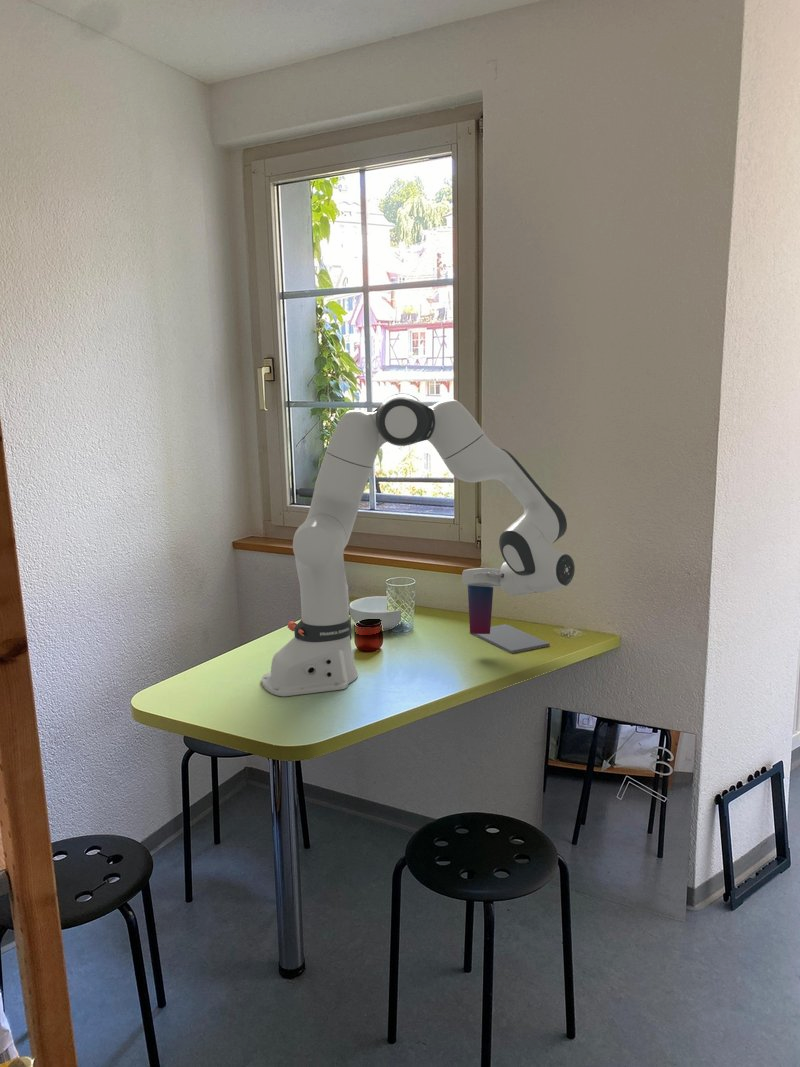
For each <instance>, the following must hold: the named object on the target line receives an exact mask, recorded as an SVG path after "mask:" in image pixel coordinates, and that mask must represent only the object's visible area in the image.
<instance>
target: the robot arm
mask: <svg viewBox="0 0 800 1067" xmlns="http://www.w3.org/2000/svg"><path fill="white" fill-rule="evenodd" d="M423 441H428V442H429V443H430V444H431V445H432V446H433V447H434V449H435V450H436V452H437V453H438V455H439V456H440V458H441V460H442V461H443V463H444V464H445V466H446V468H447V470H448V471H450V473H451V474H452V475H453V477H455V478H456V479H457V480H460V481H462V482H465V483H480V482H485V481H489V480H496V481H500V482H501V483H503V484H504V485H505V486H506V487H507V488H508V490H509V491H510V492H511V493H512V495H513V496H514V497H515V498H516V499H517V500H518V501H519V503H520V504H521V505H522V506H523V514H521V515H520V516H519V517H518V518H517V519H516V520H515V521H513V523H511V524H510V525H509V526H508V527H507V528H506V529H505V530H503V532H502V533H500V535H499V540H498V541H499V542H498V545H499V546H498V547H499V550H500V553H501V556H502V558H503V560H504V562H503V563H502V564H501V566H500V569H499V568H492V567H490V568H489V567H478V568H468V569H463V571H462V572H461V573H462V575H461V580H462V581H461V582H462V585H463V586H468V585H471V586H483V587H493V588H497V589H502V590H503V591H504V592H505V593H506V594H508V595H510V596H523V595H531V594H533V593H534V594H535V593H549V592H553V591H558V590H562V589H563V588H566V587H567V586H568V585H570V583H571V582H572V581H573V578H574V577H575V570H576V567H575V563H574V562H575V561H574V559H573V557H572V556H571V555H569V554H568V553H566V552H561V551H559V550H557V549H556V548H554V547H553V546H552V544H554V543H556V542H557V541H558V540H559V539H561V538H562V537H563V536H564V535H565V533H566V532H567V528H568V526H567V525H568V523H567V517H566V514H565V513H564V510H563V509H562V508H561V507H560V506H559V505H558V504H557V503H556V502H555V501H553V499H552V498H550V497H549V496H548V495H547V494H546V493H545V492H544V490H543V489H542V488H541V486H539V485H538V483H537V482H536V481H535V480H534V478H533V477H532V475H530V474H529V472H528V471H527V470H526V469H525V468H524V466H523V465H522V464H521V463H520V462H519V461H518V459H517V458H516V457H515V456H514V455H512V453H511V452H510V451H508V450H507V449H505V448H503V447H501V448H500V447H498V446H496V445H495V444H494V443H493V442H492V441H491V440H490V439H489V438H488V436H487V435H486V433H485V432H484V430H483V429H482V427H481V426H480V424H479V423H478V422H477V420H476V419H475V418H474V416H473V415H472V413H470V412H469V411H468V410H467V408H466V407H465V406H464V405H463V404H462V403H461V402H460V401H458V400H456V399H453V398H452V399H451V398H450V399H449V398H448V399H444V400H440V401H438V402H436V403H435V404H433V405H431V406H430V405H428V406H427V405H426V404H423V403H422V402H421V400H419V399H418V398H417V397H416V396H414V395H412V394H409V393H404V392H403V393H402V392H401V393H395V394H393V395H391V396H389V397H387V398H386V399H385V400H384V401H383V402H382V403H381V405H379V406H378V407H376V409H375V410H373V411H372V412H367V411H365V410H359V409H352V410H347V411H346V412H344V414H342V416H341V418H340V419H339V421H338V422H337V424H336V426H335V428H334V429H333V432H332V434H331V437H330V440H329V441H328V444H327V448H326V449H325V450H326V451H325V453H324V456H323V458H322V462H321V466H320V467H319V471H318V474H317V477H316V480H315V483H314V489H313V493H312V498H311V503H310V507H309V510H308V513H307V517H306V518H305V520H304V521H303V523H302V524H300V525H299V526H298V528H297V529H296V531H295V532H294V535H293V540H292V551H293V554H294V559H295V566H296V567H295V568H296V572H297V577H298V581H299V582H298V583H299V590H300V592H299V593H300V608H301V610H300V611H301V619H300V621H299V622H298V623H296V622H295V621H293V620H290V621H289V622H288V623H287V628H288V629H289V630H290V631H291V632H293V633H294V636H293V637H292V638H291V639H290V640H289V641H288V642H287V643H286V644H285V645H284V646H282V647H281V649H279V650H278V651H277V652H276V653H275V654H274V655H273V657H272V660H271V667H270V672H267V673H265V674H262V677H261V685H262V687H263V688H264V690H266V691H267V692H269V693H271V694H272V695H275V696H278V697H289V696H290V697H291V696H299V695H300V696H301V695H307V694H314V693H322V692H331V691H339V690H345V689H347V688H348V686H349V684H350V683H352V682H354V681H355V680H356V679H357V678H358V677H359V676H358V675H359V673H358V671H357V668H356V664H355V661H354V660H355V659H354V656H353V650H352V642H351V641H352V637H353V636H352V634H353V632H352V631H353V629H352V618H351V616H350V617H349V603H348V600H349V585H348V581H347V574H346V567H345V559H344V557H345V556H344V553H345V552H344V551H345V548H346V547H347V545H348V543H349V541H350V538H351V536H352V531H353V529H354V525H355V522H356V519H357V515H358V512H359V508H360V505H361V501H362V500H363V495H364V492H365V490H366V486H367V484H368V481H369V478H370V475H371V471H372V469H373V466H374V463H375V460H376V458H377V456H378V453H379V450H380V449H381V447H383V445H384V444H385V443H389V444H391V445H393V446H397V447H405V446H407V447H408V446H411V445H414V444H418V443H420V442H423Z"/></svg>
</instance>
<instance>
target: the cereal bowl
mask: <svg viewBox="0 0 800 1067" xmlns="http://www.w3.org/2000/svg"><path fill="white" fill-rule="evenodd" d="M387 597H388V595H387V596H384V595H383V596H382V595H381V596H379V595H378V596H377V595H376V596H367V597H362V598H357V599H355V600H353V601H350V605H349V610H350V615H351V616H350V618H351V621H353V622H354V623H355V624H356V622H358V621H361V620H364V619H380V620H382V625H383V630H384V631H383V632H386V631H390V630H391V629H390V628H392V627H393V628H395V627H394V626H396V625H397V624H399V622H400V621H401V610H396V611H390V612H388V610H387ZM396 627H397V626H396ZM393 628H392V629H393ZM389 629H390V630H389Z"/></svg>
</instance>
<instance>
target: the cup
mask: <svg viewBox="0 0 800 1067" xmlns="http://www.w3.org/2000/svg"><path fill="white" fill-rule="evenodd" d="M493 594H494V587H483V586H471V585H467V597H468V598H467V600H468V617H469V618H468V619H469V622H468V623H469V634H470V633H471V634H470V635H472V634H490V627H492V626H491V625H492V613H493V612H492V611H493V610H492V609H493V597H494V595H493Z"/></svg>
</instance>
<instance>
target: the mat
mask: <svg viewBox="0 0 800 1067" xmlns="http://www.w3.org/2000/svg"><path fill="white" fill-rule="evenodd" d="M473 636H474V637H476V636H477V638H479V639H481V640H482V641H484V640H485V641H484V642H487V643H489V644H491V645H493V646H495V647H496V648H499V649H501V650H503V651H505V652H507V653H508V654H512V653H513V654H516V652H518V653H522V651H523V652H527V651H526V650H528V651H531V649H533V650H537V649H536V648H538V649H541V647H543V648H546V647H547V646H548V647H550V645H551V644H550V642H548V641H546V640H543V639H541V638H540V637H539V638H538V637H536V636H534V635H532V634H531V633H530V634H529V633H527V632H525V631H523V630H520V629H518V628H516V627H513V626H512V625H509V624H506V623H504V624H499V625H492V626H491V627H490V634H473Z"/></svg>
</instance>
